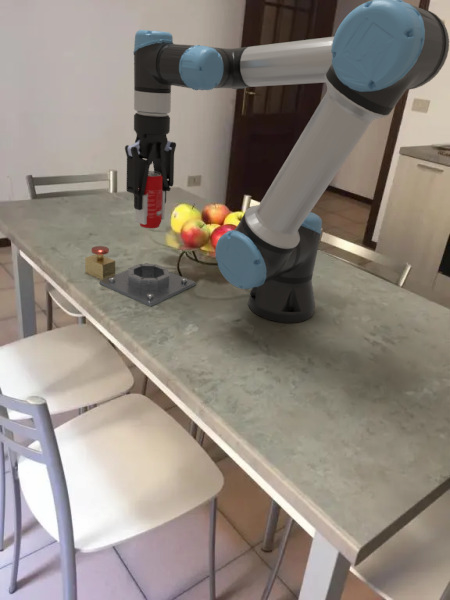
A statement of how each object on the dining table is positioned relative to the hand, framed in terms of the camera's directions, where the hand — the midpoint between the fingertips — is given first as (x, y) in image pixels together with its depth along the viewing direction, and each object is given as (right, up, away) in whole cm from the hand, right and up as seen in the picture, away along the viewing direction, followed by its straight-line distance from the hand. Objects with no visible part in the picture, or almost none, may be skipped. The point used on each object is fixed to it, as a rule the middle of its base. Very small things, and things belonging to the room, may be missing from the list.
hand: (150, 220), depth 119 cm
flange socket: (-1, -15, +5) cm, 15 cm away
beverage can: (0, -1, +1) cm, 1 cm away
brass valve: (-13, -12, +8) cm, 19 cm away
